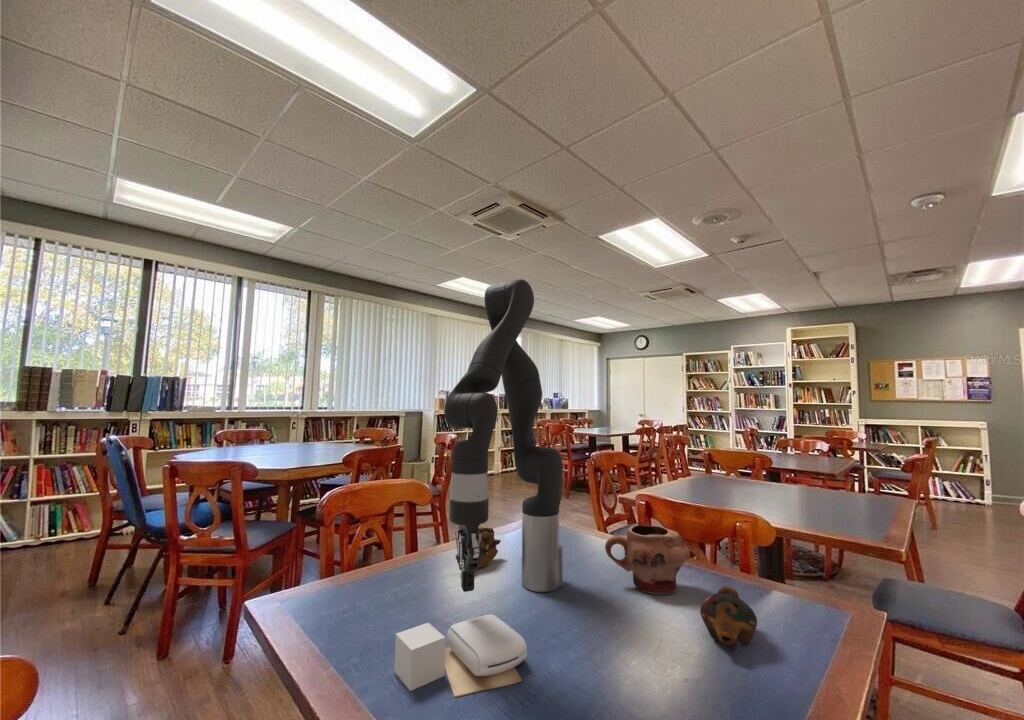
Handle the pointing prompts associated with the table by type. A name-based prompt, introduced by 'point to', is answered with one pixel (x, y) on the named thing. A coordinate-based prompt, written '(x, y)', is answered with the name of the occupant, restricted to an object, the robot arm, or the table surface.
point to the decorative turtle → (728, 617)
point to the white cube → (419, 655)
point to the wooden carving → (486, 546)
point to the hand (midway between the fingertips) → (467, 589)
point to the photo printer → (486, 645)
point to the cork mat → (474, 677)
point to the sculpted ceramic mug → (651, 557)
